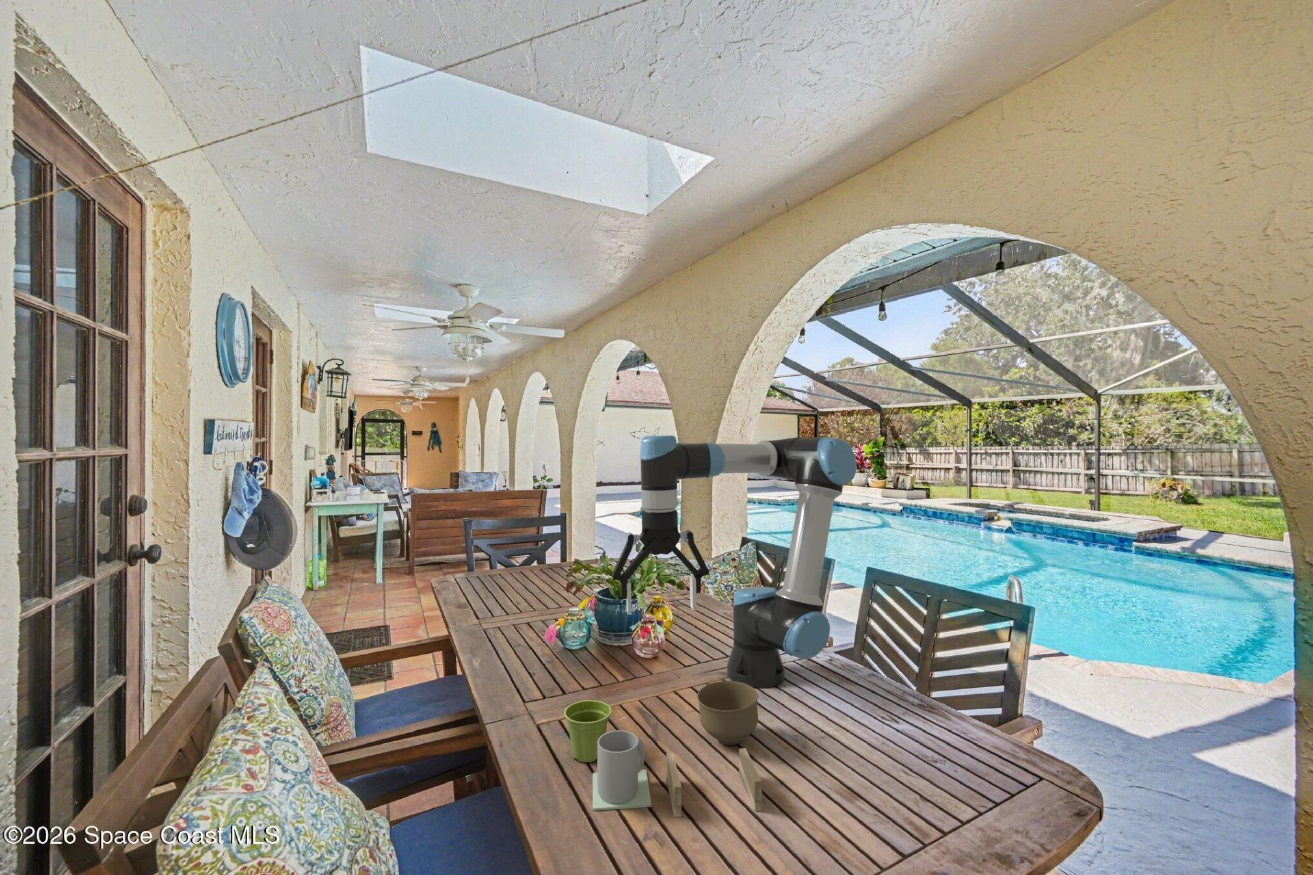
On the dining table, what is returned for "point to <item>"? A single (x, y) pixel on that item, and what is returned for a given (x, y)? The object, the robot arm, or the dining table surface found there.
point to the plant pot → (586, 727)
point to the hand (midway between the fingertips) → (661, 610)
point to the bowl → (728, 710)
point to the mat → (636, 802)
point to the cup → (619, 765)
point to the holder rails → (745, 772)
